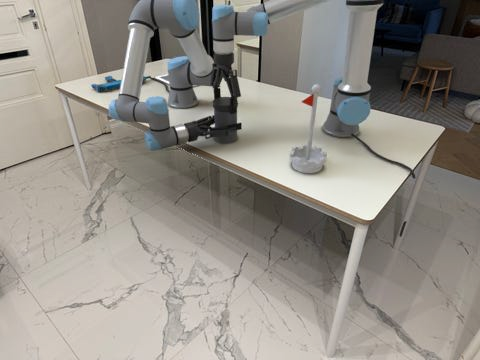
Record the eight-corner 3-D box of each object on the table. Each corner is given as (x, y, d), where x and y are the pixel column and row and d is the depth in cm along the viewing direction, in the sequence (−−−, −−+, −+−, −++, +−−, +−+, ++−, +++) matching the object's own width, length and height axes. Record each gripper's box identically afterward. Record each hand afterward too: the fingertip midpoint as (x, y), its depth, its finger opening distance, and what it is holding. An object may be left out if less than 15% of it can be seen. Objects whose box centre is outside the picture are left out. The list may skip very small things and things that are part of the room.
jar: (238, 133, 147) (238, 99, 139) (235, 143, 140) (235, 107, 131) (217, 132, 148) (215, 98, 140) (213, 142, 140) (211, 106, 132)
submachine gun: (137, 69, 223) (155, 75, 206) (138, 75, 225) (156, 81, 208) (84, 79, 204) (99, 87, 188) (85, 85, 206) (101, 94, 190)
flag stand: (312, 154, 131) (323, 76, 115) (332, 170, 121) (346, 88, 105) (282, 160, 128) (289, 80, 111) (300, 177, 117) (309, 93, 101)
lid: (232, 112, 131) (232, 106, 130) (208, 109, 134) (208, 103, 132) (241, 103, 139) (241, 98, 137) (218, 100, 142) (218, 95, 140)
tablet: (154, 77, 217) (153, 77, 217) (181, 71, 228) (180, 71, 228) (181, 89, 196) (181, 89, 196) (209, 82, 208) (209, 82, 207)
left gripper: (176, 131, 143) (223, 120, 152) (197, 153, 127) (248, 139, 136) (174, 114, 139) (222, 104, 148) (196, 135, 123) (249, 122, 132)
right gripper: (250, 57, 118) (250, 115, 130) (216, 45, 135) (218, 98, 147) (233, 60, 115) (233, 120, 127) (199, 47, 131) (202, 101, 143)
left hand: (235, 121), depth 142 cm, fingers closed on jar, 9 cm apart
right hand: (225, 108), depth 137 cm, fingers open, 11 cm apart
